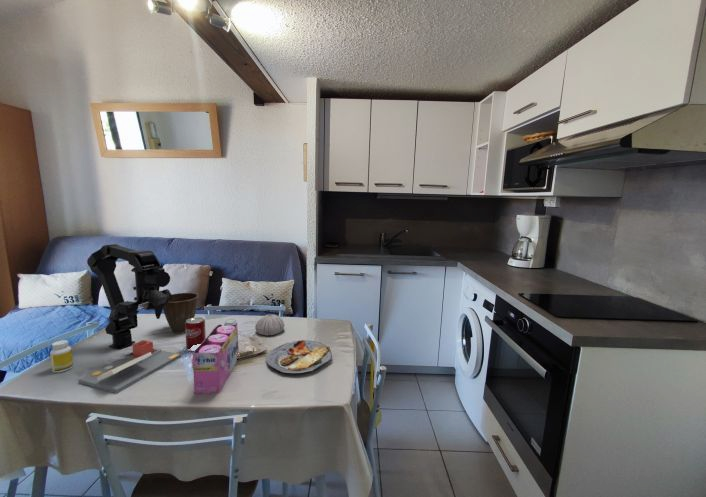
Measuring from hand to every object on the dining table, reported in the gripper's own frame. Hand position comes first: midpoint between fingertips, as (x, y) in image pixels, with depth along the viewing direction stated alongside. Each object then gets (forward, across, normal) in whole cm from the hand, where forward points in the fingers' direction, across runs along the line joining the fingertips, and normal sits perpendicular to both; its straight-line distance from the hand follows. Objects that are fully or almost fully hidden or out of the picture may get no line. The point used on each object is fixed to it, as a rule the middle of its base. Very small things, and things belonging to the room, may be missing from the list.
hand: (147, 322), depth 117 cm
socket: (+11, -4, -2) cm, 12 cm away
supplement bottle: (+13, -19, +17) cm, 28 cm away
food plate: (+13, +16, -58) cm, 61 cm away
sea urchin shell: (+13, +35, -33) cm, 49 cm away
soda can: (+13, +10, -14) cm, 21 cm away
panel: (+12, -11, -6) cm, 17 cm away
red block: (+11, -4, -2) cm, 12 cm away
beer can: (+12, +14, -28) cm, 33 cm away
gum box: (+13, -3, -36) cm, 38 cm away
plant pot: (+13, +21, +6) cm, 25 cm away
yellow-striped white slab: (+8, -16, -9) cm, 20 cm away
